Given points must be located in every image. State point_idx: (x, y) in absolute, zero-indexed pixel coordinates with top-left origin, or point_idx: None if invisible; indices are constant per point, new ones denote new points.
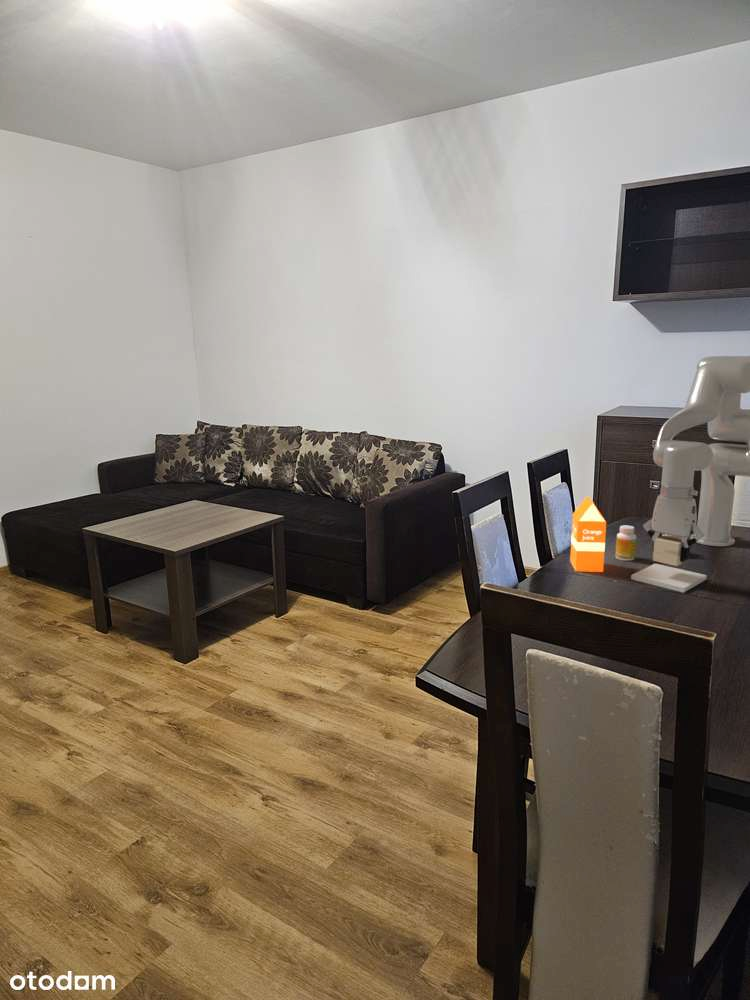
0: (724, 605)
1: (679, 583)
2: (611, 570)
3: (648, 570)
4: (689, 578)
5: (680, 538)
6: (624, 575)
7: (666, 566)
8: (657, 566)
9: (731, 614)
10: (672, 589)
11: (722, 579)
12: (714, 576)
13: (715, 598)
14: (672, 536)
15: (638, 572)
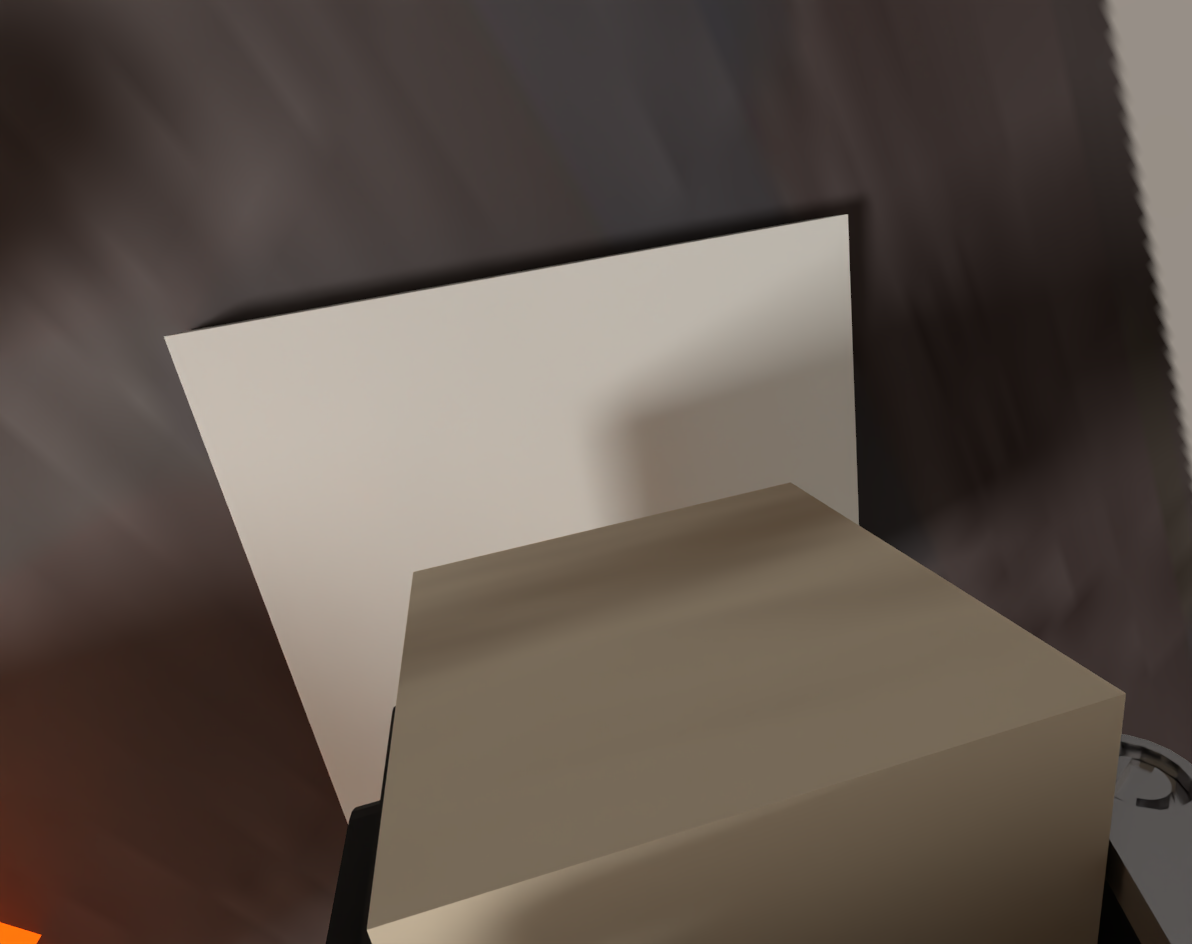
0: (1126, 658)
1: None
2: (37, 839)
3: (353, 642)
4: (778, 481)
5: (922, 837)
6: (250, 826)
7: (355, 323)
8: (292, 429)
9: (1189, 740)
10: None
11: (931, 47)
12: (832, 10)
13: (1047, 599)
14: (665, 890)
15: (348, 779)
